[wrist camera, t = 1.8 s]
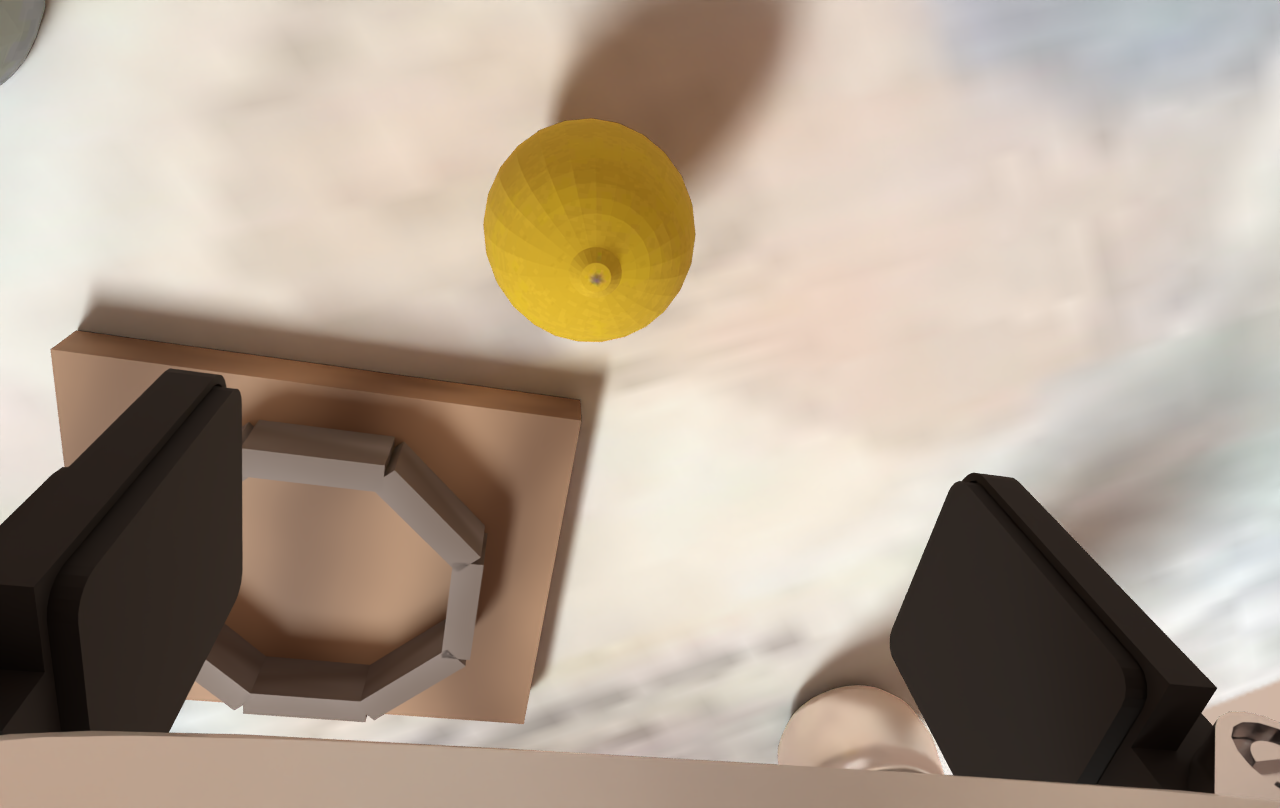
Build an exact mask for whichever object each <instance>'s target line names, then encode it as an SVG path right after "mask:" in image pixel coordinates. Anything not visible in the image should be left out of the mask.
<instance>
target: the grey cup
mask: <svg viewBox="0 0 1280 808" xmlns="http://www.w3.org/2000/svg"><path fill="white" fill-rule="evenodd" d="M44 10H45V0H0V85H2V84H3V83H4V82H5V81H6V80H8V79H9V78H10V77H11V76H12V75H13V74H14V73H15V72H16V70H17V69H18V68H19V66H20V65H21V64H22V63H23V61H24V60H25V59H26V57H27V55H28V53H29V51H30V49H31V47H32V45H33V43H34V41H35V39H36V36H37V33H38V30H39V26H40V23H41V20H42V17H43V13H44Z"/></svg>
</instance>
